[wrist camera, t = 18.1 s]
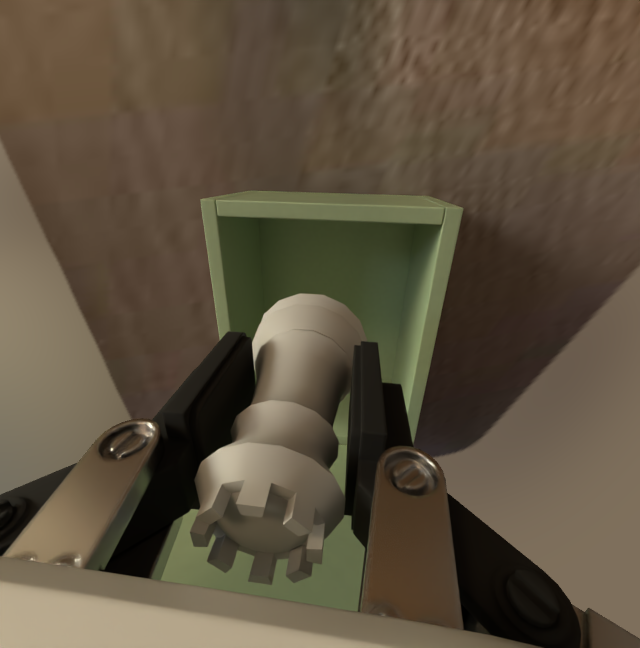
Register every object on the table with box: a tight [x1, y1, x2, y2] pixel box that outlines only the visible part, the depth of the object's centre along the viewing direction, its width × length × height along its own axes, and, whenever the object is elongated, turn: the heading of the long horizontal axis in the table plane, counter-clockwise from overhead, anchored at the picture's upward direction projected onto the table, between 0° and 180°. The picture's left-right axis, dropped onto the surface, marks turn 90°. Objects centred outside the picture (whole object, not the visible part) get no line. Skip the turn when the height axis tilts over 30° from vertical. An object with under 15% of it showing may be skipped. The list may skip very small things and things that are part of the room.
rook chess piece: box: [190, 293, 367, 585], centre depth 9 cm, size 4×4×8 cm
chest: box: [201, 191, 463, 445], centre depth 22 cm, size 16×13×8 cm
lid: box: [160, 445, 365, 612], centre depth 13 cm, size 17×13×5 cm
